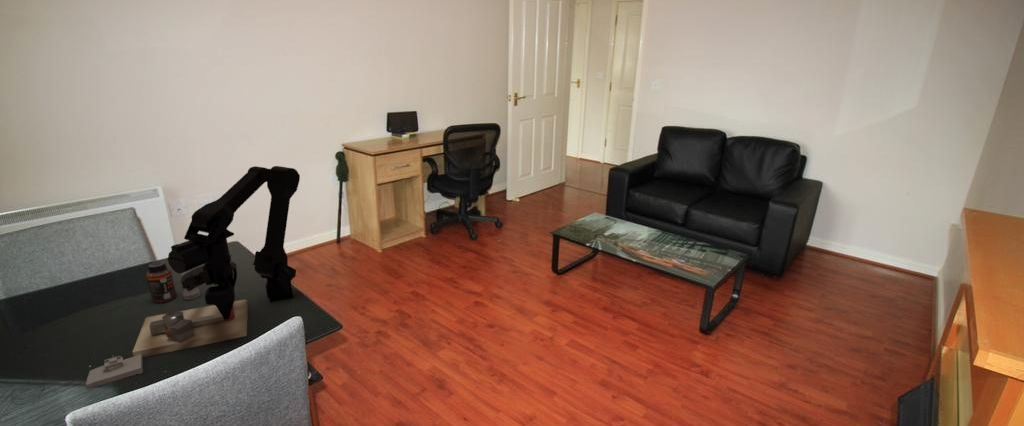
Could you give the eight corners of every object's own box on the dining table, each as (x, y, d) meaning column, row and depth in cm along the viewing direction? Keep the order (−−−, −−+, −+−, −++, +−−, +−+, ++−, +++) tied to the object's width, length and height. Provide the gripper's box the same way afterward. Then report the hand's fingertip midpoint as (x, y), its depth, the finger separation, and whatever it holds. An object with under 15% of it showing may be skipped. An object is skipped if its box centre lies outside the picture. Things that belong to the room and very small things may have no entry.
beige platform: (140, 350, 122) (136, 337, 121) (155, 369, 115) (151, 356, 114) (78, 374, 113) (73, 360, 112) (90, 396, 106) (86, 381, 105)
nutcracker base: (247, 305, 142) (244, 286, 140) (246, 336, 128) (242, 316, 126) (147, 323, 132) (142, 304, 130) (134, 359, 118) (127, 338, 116)
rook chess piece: (192, 301, 144) (186, 277, 141) (179, 299, 144) (173, 275, 142) (204, 294, 148) (199, 270, 145) (191, 292, 149) (186, 268, 146)
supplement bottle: (175, 301, 144) (167, 266, 140) (151, 305, 141) (141, 269, 137) (178, 292, 149) (170, 258, 145) (154, 296, 146) (145, 261, 142)
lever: (150, 336, 122) (144, 312, 120) (153, 327, 126) (147, 304, 124) (234, 320, 130) (230, 297, 128) (235, 312, 134) (231, 289, 131)
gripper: (184, 248, 130) (196, 300, 135) (174, 278, 114) (187, 335, 119) (232, 241, 134) (241, 292, 140) (228, 269, 119) (239, 325, 124)
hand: (227, 310), depth 131 cm, fingers open, 9 cm apart
